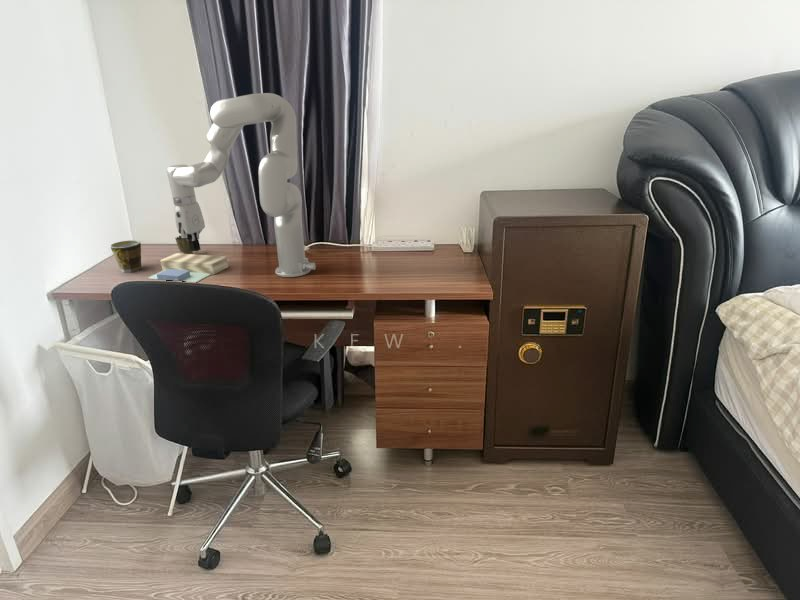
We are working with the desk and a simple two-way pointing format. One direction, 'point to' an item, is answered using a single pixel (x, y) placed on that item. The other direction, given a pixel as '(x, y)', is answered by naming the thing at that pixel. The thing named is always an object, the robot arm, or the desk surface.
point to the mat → (193, 277)
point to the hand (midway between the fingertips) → (195, 250)
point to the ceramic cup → (127, 255)
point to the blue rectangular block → (173, 275)
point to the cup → (183, 245)
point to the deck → (195, 263)
